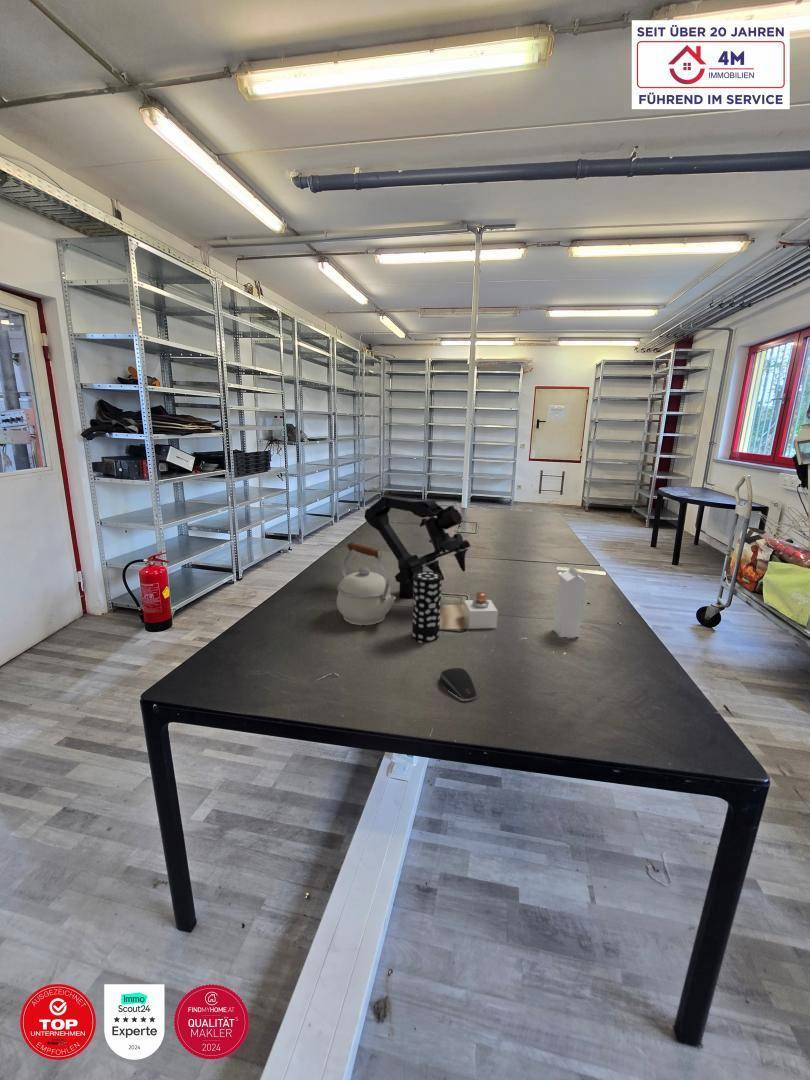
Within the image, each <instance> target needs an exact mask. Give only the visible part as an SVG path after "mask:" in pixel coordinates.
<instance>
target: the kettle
mask: <svg viewBox="0 0 810 1080" xmlns="http://www.w3.org/2000/svg"><path fill="white" fill-rule="evenodd" d="M352 551H355V552H357V553H360V554H363V555H366V556H370V557H374V558H375V559H377V564H378V567H379V569H380V571H381V573H382V575H381V574H380V573H376V572H374V571H371V569H369V567H366V565H365V566H361V567H360V568H359V569H358V570H357V572H353V573H350V574H348V575H347V572H346V563H347V561H348V560H349V558H350V557H351V555H352V553H353V552H352ZM382 554H383V553H382V550H380V549H377V550H376V549H374V548H372V547H369V546H366V545H362V544H357V543H354V542H353V541H350V542H348V543H347V554H346V556H345V557H344V558H343V561H342V563H341V573H342V577H343V579H341V582H340V583H339V584H338V585H337V588H336V589H337V591H338V593H337V597H336V607H337V610H338V611H339V613H340V614H341V615H342V616H343V620H345V622H347V623H348V622H349V623H348V624H351V625H354V624H355V626H362V625H365V626H372V625H376V623H377V624H379V623H381V622H383V620H385V618H386V615H387V613H389V612H390V609H391V608H392V606H393V604H394V602H395V600H396V596H394V595H391V592H390V591H391V589H392V586H391V584H390V579H389V575H388V573H387V571H386V569H385V567H384V565H383V562H382V556H383V555H382Z"/></svg>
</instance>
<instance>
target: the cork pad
mask: <svg viewBox="0 0 810 1080" xmlns="http://www.w3.org/2000/svg"><path fill="white" fill-rule="evenodd" d="M463 614H464V604H441V607H440V628H439V630H453V629H455V630H456V629H457V630H460V629H461V630H462V629H465V630H466V629H467V630H468V629H471V630H472V629H474V630H475V629H480V628H468V625H467V623H466V621H465V619H464V617H463Z"/></svg>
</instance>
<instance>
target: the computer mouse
mask: <svg viewBox="0 0 810 1080" xmlns="http://www.w3.org/2000/svg"><path fill="white" fill-rule="evenodd" d="M439 680H441V681H440V683H442V684H443V686H444V687H445V688H446V689H447V690H449V691H450V692H452V693H453V694H455V695H457V696H458V697H460V698H462V699H471V698H474V697H476V696H477V697H478V693H477V691H476V687H475V685H474V683H473V680H472V677H471V676H470V674H469V673H468V671H467V670H465V669H464V668H459V667H453V668H448V669H447V668H446V669H445V670H442V671H441V674H440V679H439ZM442 684H441V685H442ZM443 686H442V687H443ZM444 687H443V688H444Z"/></svg>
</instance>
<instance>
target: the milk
mask: <svg viewBox="0 0 810 1080" xmlns="http://www.w3.org/2000/svg"><path fill="white" fill-rule="evenodd" d="M558 576H559V578H558V585H557V586H558V587H557V594H556V602H555V610H554V620H553V628H552V629H554V630H555V631H554V630H553V631H554V633H557V634H558V635H559V636H558V635H557V634H556V635H557V636H558V637H559V638H560V637H580V631H581V623H582V617H583V610H584V609H583V608H584V601H585V594H586V588H587V587H586V586H587V580H585V579H584V578H583V577H582V576H580V575H579V571H578V569H576V568H574V567H573V566H572V565H569V568H568V570H566V571H565V572H562V573H560V574H559V575H558Z"/></svg>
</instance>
